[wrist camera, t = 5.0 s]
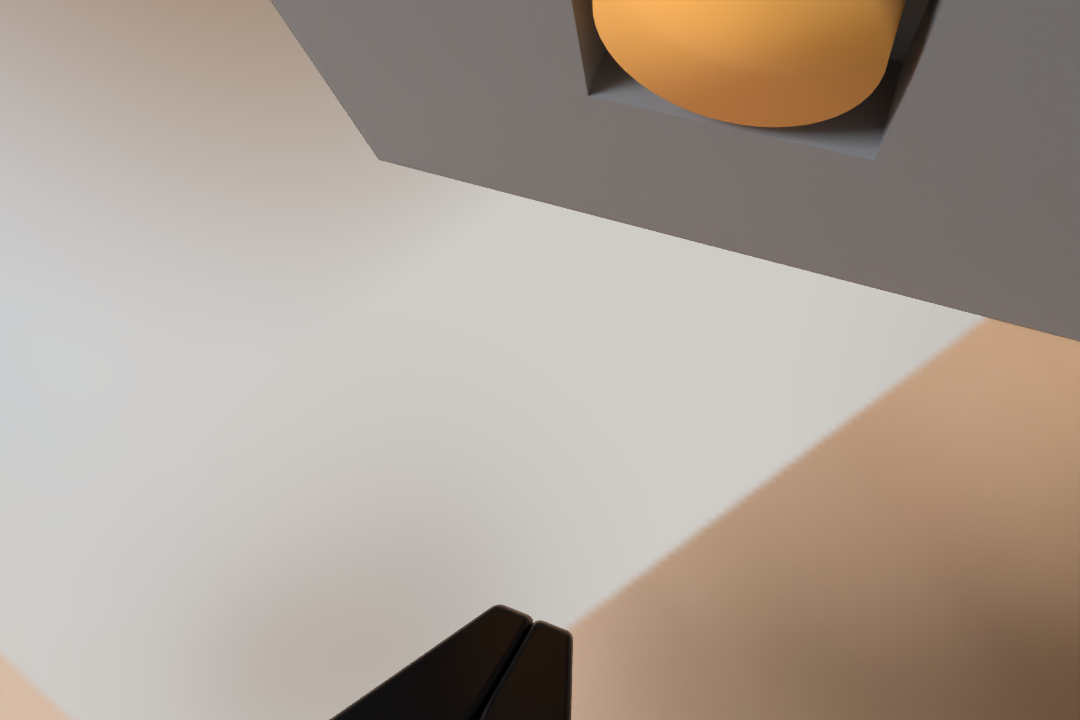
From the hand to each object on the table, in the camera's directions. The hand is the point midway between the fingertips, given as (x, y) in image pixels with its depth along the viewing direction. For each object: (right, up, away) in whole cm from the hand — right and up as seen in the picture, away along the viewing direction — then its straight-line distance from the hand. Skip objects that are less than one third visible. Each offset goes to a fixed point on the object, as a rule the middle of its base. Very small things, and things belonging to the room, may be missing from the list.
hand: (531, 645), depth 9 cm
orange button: (+4, +8, +6) cm, 11 cm away
